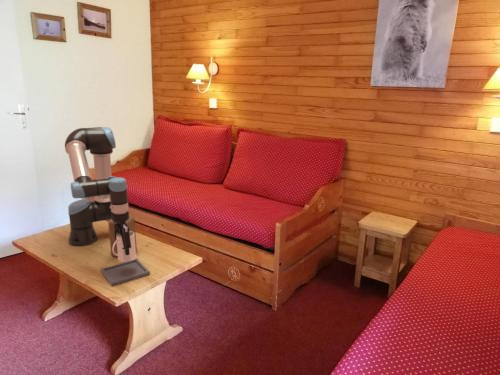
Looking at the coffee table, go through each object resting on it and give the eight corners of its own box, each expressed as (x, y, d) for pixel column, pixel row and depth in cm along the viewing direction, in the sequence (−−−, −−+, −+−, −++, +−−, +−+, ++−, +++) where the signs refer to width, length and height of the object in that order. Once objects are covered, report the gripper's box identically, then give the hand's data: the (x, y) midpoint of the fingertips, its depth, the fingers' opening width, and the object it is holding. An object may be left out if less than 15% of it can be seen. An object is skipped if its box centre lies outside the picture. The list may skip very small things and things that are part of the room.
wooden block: (128, 258, 193) (125, 222, 187) (110, 256, 195) (107, 221, 189) (137, 250, 202) (135, 216, 197) (120, 248, 204) (117, 214, 198)
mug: (118, 266, 169) (116, 241, 165) (108, 260, 174) (105, 236, 171) (140, 257, 178) (138, 233, 174) (129, 252, 183) (128, 229, 180)
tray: (100, 272, 179) (100, 268, 179) (137, 261, 190) (137, 258, 189) (111, 286, 167) (111, 282, 166) (149, 274, 178) (149, 271, 177)
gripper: (104, 207, 175) (108, 251, 182) (119, 220, 159) (123, 267, 166) (120, 204, 180) (124, 247, 186) (136, 216, 164) (140, 263, 170)
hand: (123, 257), depth 176 cm, fingers closed on mug, 8 cm apart
